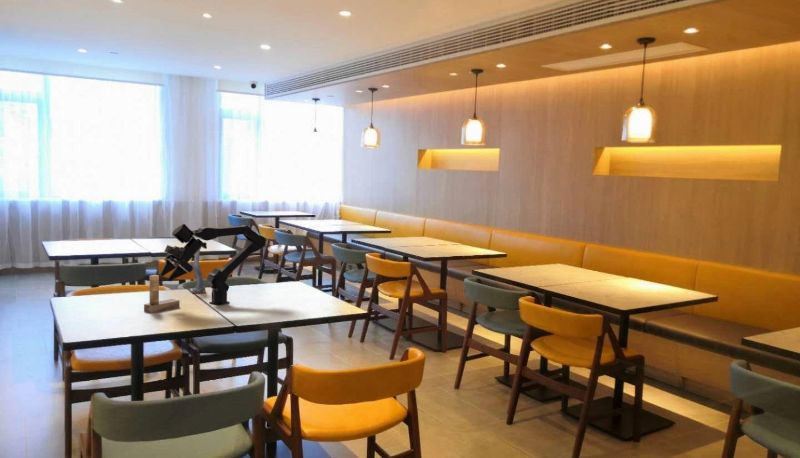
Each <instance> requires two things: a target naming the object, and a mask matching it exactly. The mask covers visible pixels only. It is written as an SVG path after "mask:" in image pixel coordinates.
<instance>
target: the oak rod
mask: <svg viewBox="0 0 800 458" xmlns="http://www.w3.org/2000/svg"><path fill="white" fill-rule="evenodd" d="M159 275H160V274H159ZM159 275H158V274H152V275H149V303H150V305H157V304H159V301H160V294H159V293H160V291H159V290H160V276H159Z"/></svg>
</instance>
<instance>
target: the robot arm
mask: <svg viewBox="0 0 800 458" xmlns="http://www.w3.org/2000/svg"><path fill="white" fill-rule="evenodd" d="M171 235H172V237H174V238H175V239H176V240H178V242H180V243H181V244H185V245H184V246H176V245H174V246H171V245H169V244H167V245H166V247H165V248H164V252H165V253H166V254H165V255H164V261H165V264H164V266H163V268H162V270H161V271H160V274H159V275H160V276H161V277H164V276H165V275H167V274H168V273H170V272H171V274H170V275H169V277H168V278H167V281H170V282H171V281H172V280H175V279H177V278H179V277H181V276H184V275H187V274H188V273H189V274H191V273H192V271H193V267H192V266H191V265H190V264H189V263H190V262H191V259H192V260H194V258H195V256H194V255H195V254H196V253H197V252H198V251H199V249H200V248H201V249H205V250H206V249H207V248H208V246H207V242H203V241H212V240H214V239H217V238H220V237H221V238H222V237H230V236H237V235H238V236H239V235H243V237H244V238H245V239H246V240H247V241H246V242H245V245H244V247H242V248H241V249H240V251H239V252H237V253H236V254H235V255H234V256H233V257H232V258H231V259H230V260H229V261H228V262H227V263H226V264H224V265H223V266H222V267H221V268H216V267H214V268H213V270H212V271H211V272H208V276H207V277H206V282H207V284H208V285H209V286H210V288H211V289H212V290H211V301H209V304H212V305H215V306H216V305H218V306H221V305H225V304H230V301H228V291H229V289H230V286H229V285H228V284H227V283H226V282H227V280H228V279H229V277H230V274H232V273H233V271H235V270H236V269H237V268H238V267H239V266H240V265H241V264H242V263H243V262H245V260H247V259H248V258H249V257H251V255H252V254H253V253H256V252H258V251H259V250H261V249H263V248H264V247H265V246H266V245H267V243H266V242H267V241H266V238H265V237H264V236H262V235H260V234H258V233H257V232H256V231H254V230H253V229H252V228H251V227H250V226H249V225H246V224H243V225H236V226H235V225H234V226H226V227H225V226H224V227H211V226H200V227H198V229H194V230H191V228H189V227H188V226H187V225H186V223H182V224H181V225H179V226H178V227H176V228H175V229H174V230H173V231H172V233H171ZM195 237H197V238H195ZM201 249H200V250H201Z"/></svg>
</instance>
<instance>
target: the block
mask: <svg viewBox="0 0 800 458" xmlns="http://www.w3.org/2000/svg"><path fill="white" fill-rule="evenodd" d="M177 308H180V300H179V299H174V298H169V299H164V300H163V299H162V300H159V304H157V305H150V302H149V303H144V304H143V312H144V313H145V312H146V313H151V314H153V313H159V312H162V311H163V312H164V311H167V310H172V309H177Z"/></svg>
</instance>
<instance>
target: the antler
mask: <svg viewBox="0 0 800 458" xmlns="http://www.w3.org/2000/svg"><path fill="white" fill-rule="evenodd" d="M201 250H202V247H201V248H200V249H199V251H198V252H197V253H196V254H195V255H194V256H195V258H194V259H193V261H189V262H188V263H189V264H190V265H191V266H192V267H193V270H192V271H193V274H194V276H195V281H196V282H195V283H196V284H195V286H194V287H192V290H191V293H192V294H198V293H199V294H200V293H205V292H207V291H206V286H205V285H204V282H205V281H204V278H203V273H202V269H201V267H200V265H201V264H200V255H201V254H200V252H201Z"/></svg>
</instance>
